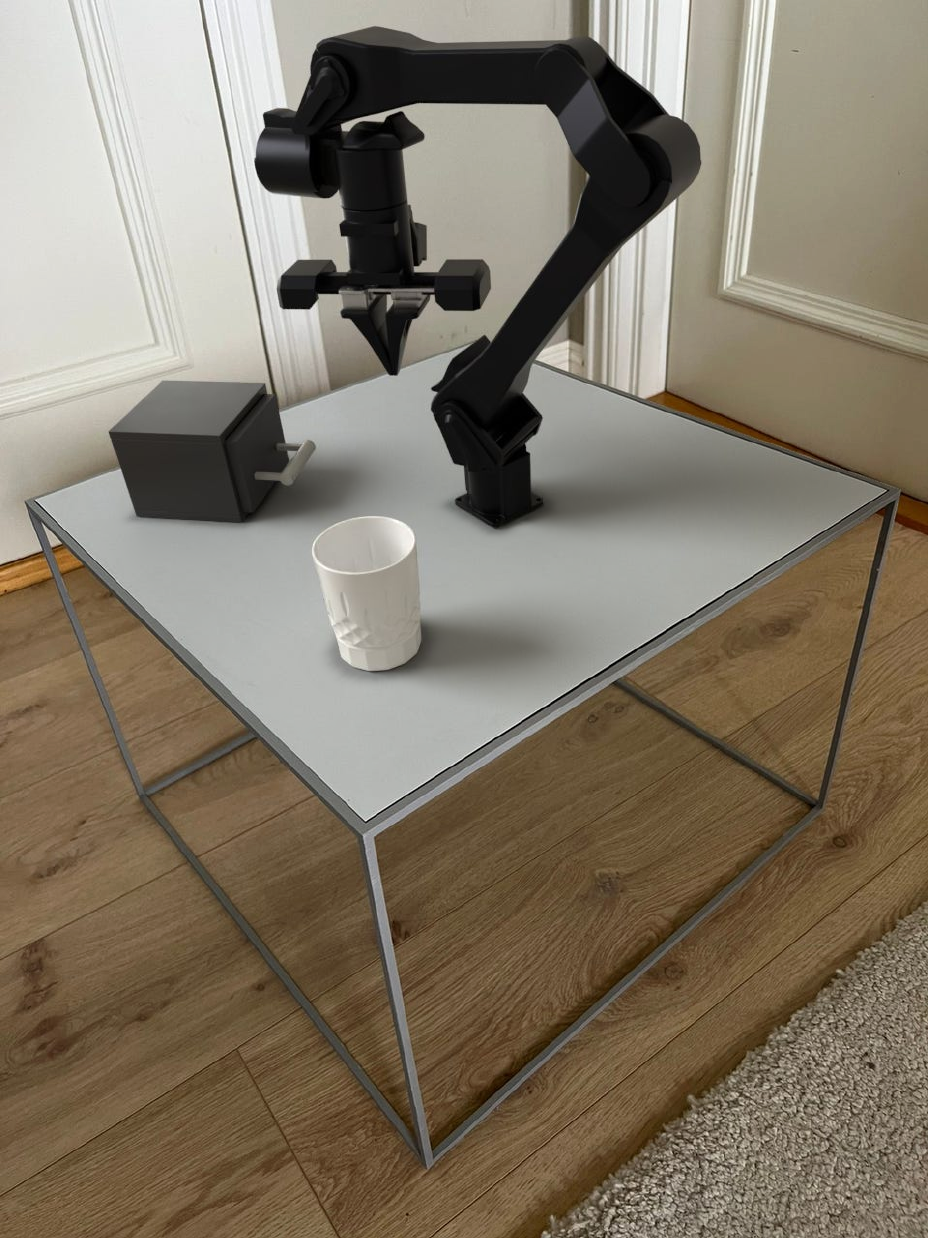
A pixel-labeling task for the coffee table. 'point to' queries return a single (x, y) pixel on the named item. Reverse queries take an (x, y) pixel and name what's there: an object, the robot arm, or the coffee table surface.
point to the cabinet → (184, 449)
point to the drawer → (263, 453)
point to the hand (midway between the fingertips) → (394, 373)
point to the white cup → (371, 590)
